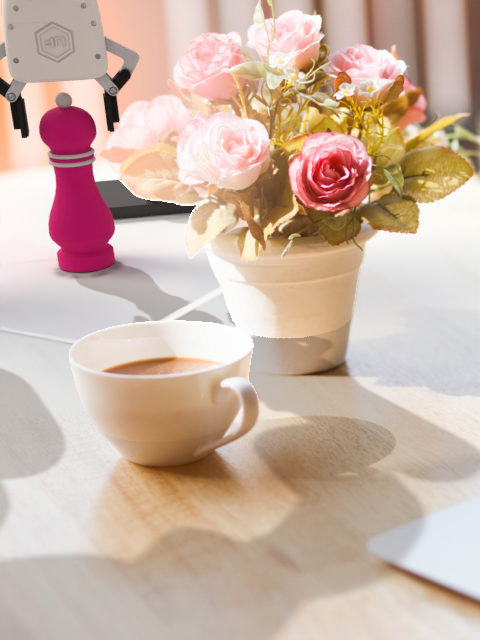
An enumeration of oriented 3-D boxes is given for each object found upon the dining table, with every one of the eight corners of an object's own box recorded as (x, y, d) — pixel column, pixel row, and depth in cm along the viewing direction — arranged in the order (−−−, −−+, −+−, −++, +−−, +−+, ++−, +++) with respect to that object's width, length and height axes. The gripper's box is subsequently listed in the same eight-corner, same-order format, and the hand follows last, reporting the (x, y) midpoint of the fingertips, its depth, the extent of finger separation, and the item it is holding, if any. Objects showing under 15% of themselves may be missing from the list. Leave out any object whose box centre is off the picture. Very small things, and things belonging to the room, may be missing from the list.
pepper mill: (40, 269, 136) (12, 96, 128) (83, 250, 142) (59, 84, 134) (91, 277, 133) (66, 101, 126) (132, 258, 140) (110, 89, 132)
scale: (68, 225, 151) (64, 198, 150) (67, 195, 164) (64, 171, 163) (196, 213, 156) (193, 187, 155) (186, 185, 169) (183, 161, 168)
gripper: (-47, -23, 119) (-18, 146, 126) (132, -29, 124) (151, 134, 131) (-41, -30, 126) (-14, 131, 132) (129, -35, 131) (147, 120, 138)
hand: (68, 132), depth 132 cm, fingers open, 8 cm apart
